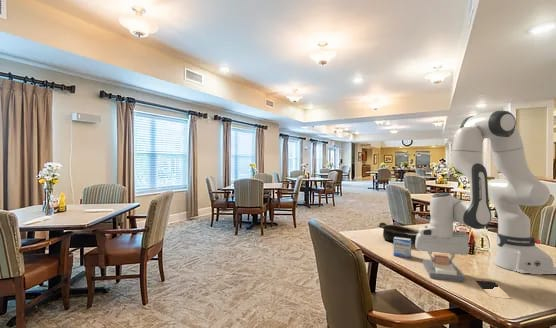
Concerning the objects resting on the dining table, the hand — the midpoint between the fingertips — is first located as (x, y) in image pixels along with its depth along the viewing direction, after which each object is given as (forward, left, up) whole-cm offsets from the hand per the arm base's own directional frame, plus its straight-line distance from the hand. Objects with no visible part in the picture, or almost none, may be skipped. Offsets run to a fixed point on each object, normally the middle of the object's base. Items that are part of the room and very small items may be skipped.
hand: (441, 262), depth 123 cm
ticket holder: (0, +2, -3) cm, 4 cm away
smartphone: (-14, +14, -4) cm, 20 cm away
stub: (0, 0, -1) cm, 1 cm away
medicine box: (+14, -15, -4) cm, 21 cm away
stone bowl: (+12, -44, -4) cm, 46 cm away
